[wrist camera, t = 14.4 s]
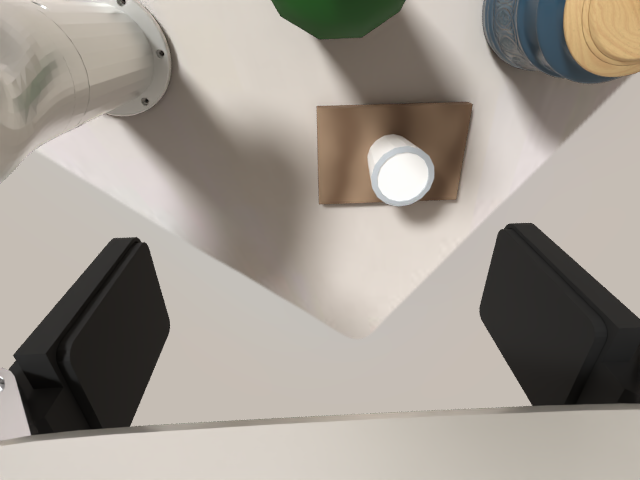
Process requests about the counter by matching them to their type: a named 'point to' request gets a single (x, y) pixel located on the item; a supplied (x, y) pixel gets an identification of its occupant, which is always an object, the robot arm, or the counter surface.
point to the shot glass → (399, 170)
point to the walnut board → (375, 122)
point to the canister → (566, 37)
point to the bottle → (337, 16)
